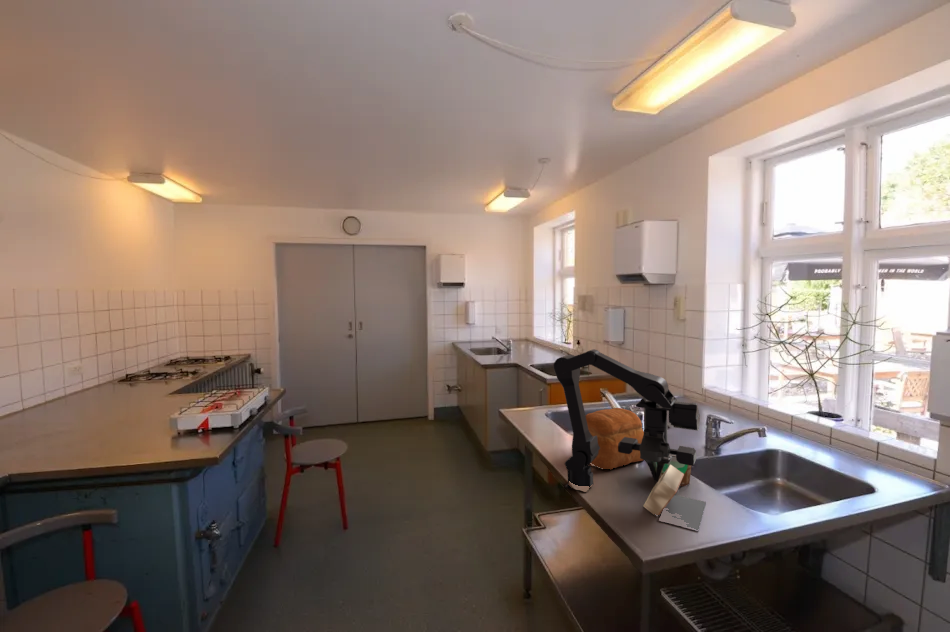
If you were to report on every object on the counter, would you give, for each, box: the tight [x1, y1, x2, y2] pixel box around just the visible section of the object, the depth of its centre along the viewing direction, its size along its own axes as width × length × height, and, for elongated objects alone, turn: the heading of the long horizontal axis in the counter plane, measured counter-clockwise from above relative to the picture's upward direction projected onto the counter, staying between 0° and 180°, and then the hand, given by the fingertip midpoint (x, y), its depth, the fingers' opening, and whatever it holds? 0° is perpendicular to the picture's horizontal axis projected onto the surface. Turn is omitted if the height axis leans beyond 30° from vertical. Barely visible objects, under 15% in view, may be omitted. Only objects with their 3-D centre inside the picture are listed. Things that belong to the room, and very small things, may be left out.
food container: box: [656, 457, 693, 487], centre depth 125 cm, size 12×6×10 cm, turn 45°
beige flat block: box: [643, 464, 684, 516], centre depth 111 cm, size 4×12×9 cm, turn 146°
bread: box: [585, 407, 644, 470], centre depth 144 cm, size 18×21×17 cm
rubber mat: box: [665, 494, 707, 531], centre depth 109 cm, size 9×16×1 cm, turn 145°
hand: (656, 481), depth 112 cm, fingers closed
